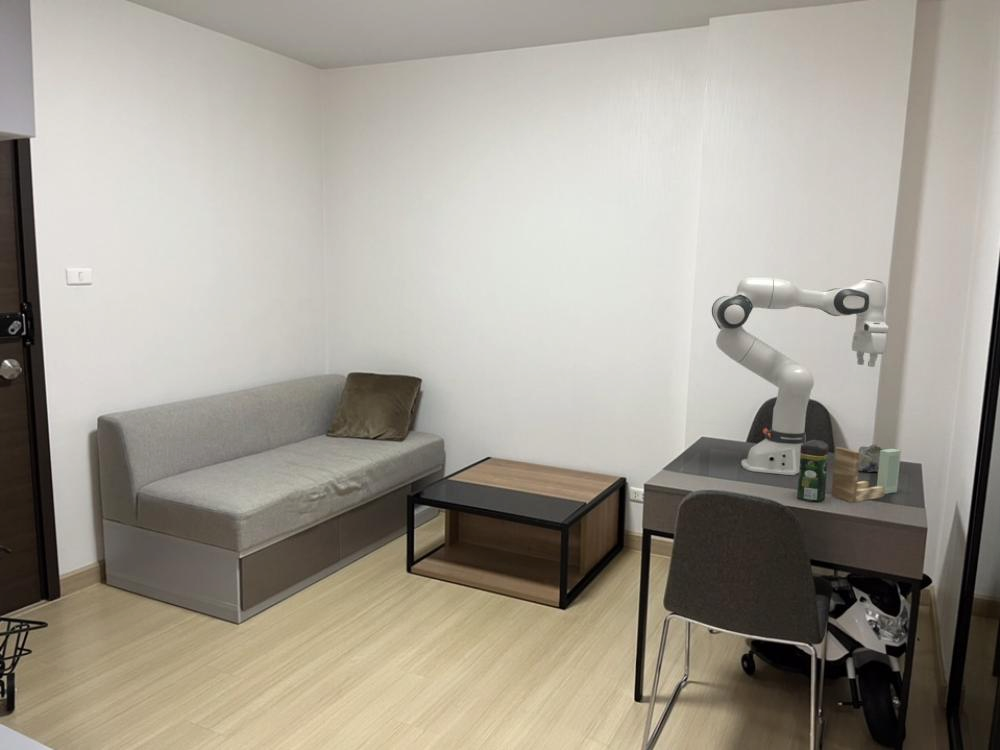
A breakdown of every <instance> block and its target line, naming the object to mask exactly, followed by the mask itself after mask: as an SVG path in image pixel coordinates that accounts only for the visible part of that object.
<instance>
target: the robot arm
mask: <svg viewBox="0 0 1000 750" xmlns="http://www.w3.org/2000/svg"><path fill="white" fill-rule="evenodd" d="M737 285H738V286H737V287H736V292H735V293H734V294H733V295H731V296H730V295H723V296H721V297H719V298H717V299H716V300H715V301H714V302H713V304H712V307H711V316H712V318H713V320H714V322H715V324H716V326H717V328H718V329H720V330H719V332H718V334H717V336H716V340H715V344H716V346H717V348H718V349H719V350H721V352H723V354H725V355H726V356H727V357H729V358H730V359H731V360H733V361H734V362H736V363H737V364H739V365H741V366H742V367H743V368H745V369H747V370H748V371H751V372H752V373H753V374H756V375H757V376H759V378H762V379H764V380H765V381H767V382H768V383H770V384H771V385H773V386H776V387H777V388H778V391H777V395H776V400H775V404H774V406H773V412H772V423H771V424H772V425H771V428H770V429H768V428H767V427H765V428H763V430H762V433H763V434H764V435H765V438H764V439H762V440H761V441H760V442H758V443H756V444H754V445H753V446H752V447H750V449H749V450H748V451H749V452H748V455H747V458H745V459H742V460H741V462H740V466H741V467H742V468H743V469H745V470H747V471H750V472H755V473H767V474H777V475H786V476H795V475H797V474H799V467H800V450H801V445H802V444H803V443H805V442H806V437H807V435H806V432H805V429H806V428H805V427H806V417H807V409H808V404H809V401H810V397H811V392H812V389H813V388H814V384H815V379H814V376H813V374H812V373H811V371H810V370H809V369H808V367H805V366H803V365H802V364H800V363H798V362H796V361H794V360H793V359H791V358H790V357H788V356H787V355H785V354H783V353H782V352H780V351H778V350H777V349H775V348H774V347H772V346H771V345H769V344H768V343H766V342H765V341H763V340H761V339H759V338H758V337H756V336H755V335H753V334H751V333H750V332H748V331H747V330H745V329H744V327H743V325H744V324H745V323H746V322H747V321H748V319H749V317H750V314H751V313H752V311H753V309H754V308H755V309H756V308H760V309H765V310H766V309H767V310H768V309H769V310H787V309H790V308H794V307H803V308H809V309H810V308H811V309H817V310H821V311H823V312H824V313H826V314H827V315H829V316H833V317H840V316H842V317H843V316H852V315H856V316H855V317H856V318H855V328H854V329H855V331H854V333H853V336H852V342H851V351H853V352H856V359H857V362H856V363H857V365H858V366H860V365H861V366H864V365H865V360H864V355H865V354H869V359H868V361H867V367H870V368H874V367H875V366H876V362H877V359H878V355H883V354H884V353H885V350H886V345H887V336H888V335H887V333H889V325H888V324H886V322H885V314H884V313H885V312H884V311H885V308H886V305H887V287H886V284H885V283H884V282H882V281H880V280H877V279H869V278H864V279H862V280H861V281H858V282H857V283H855V284H852V285H850V286H847V287H844V288H842V287H841V288H839V287H837V288H831V289H829V290H828V289H827V290H826V291H825V290H823V291H820V290H813V289H812V290H811V289H803V288H799V287H798V286H796V285H795V284H794V283H793V282H791V281H790V280H786V279H782V278H777V277H769V276H768V277H767V276H751V277H749V276H748V277H745V278H743V279H741V280H740V281H739V283H738V284H737Z"/></svg>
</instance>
